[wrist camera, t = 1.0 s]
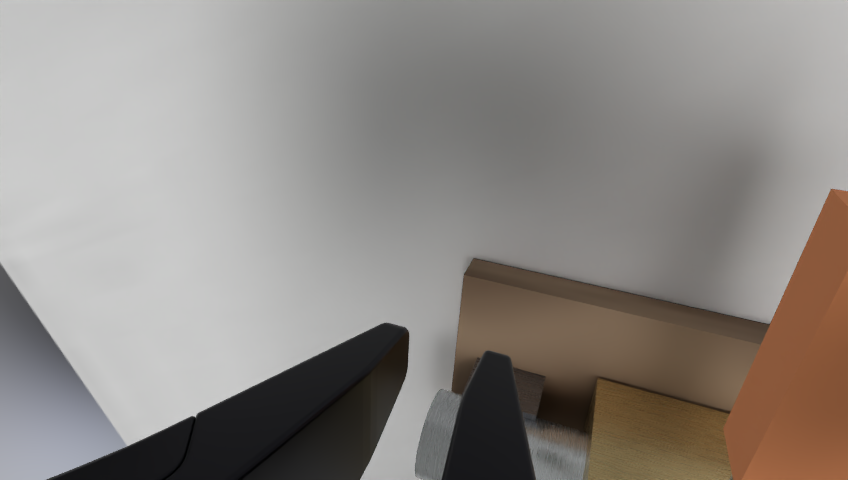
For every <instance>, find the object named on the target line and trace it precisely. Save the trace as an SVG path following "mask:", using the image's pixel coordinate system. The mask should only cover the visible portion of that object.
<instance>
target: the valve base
mask: <svg viewBox="0 0 848 480" xmlns="http://www.w3.org/2000/svg"><path fill="white" fill-rule="evenodd" d="M769 326H770V325H768V324H764V323H759V322H755V321H750V320H746V319H741V318H737V317H732V316H728V315H724V314H719V313H715V312H710V311H706V310H701V309H697V308H692V307H688V306H683V305H679V304H674V303H670V302H666V301H661V300H657V299H652V298H648V297H643V296H639V295H634V294H630V293H625V292H621V291H616V290H612V289H608V288H603V287H599V286H594V285H590V284H585V283H581V282H576V281H572V280H567V279H563V278H558V277H554V276H550V275H545V274H541V273H536V272H532V271H527V270H523V269H518V268H514V267H509V266H505V265H500V264H496V263H492V262H487V261H483V260H478V259H473V260H472V262H471V264H470V265H469V267H468V269H467V270H466V272H465V274H464V279H463V288H462V298H461V307H460V316H459V326H458V335H457V344H456V354H455V363H454V372H453V382H452V391H447V390H444V389H441V390H439V392H438V393H437V394H436V396H435V398H434V400H433V402H432V404H431V407H430V409H429V412H428V415H427V417H426V420H425V423H424V427H423V430H422V433H421V437H420V441H419V446H418V450H417V456H416V463H415V475H416V477H417V478H420V479H423V480H441V479H442V475H443V471H444V466H445V462H446V458H447V454H448V450H449V445H450V441H451V437H452V433H453V429H454V424H455V420H456V416H457V412H458V408H459V405H460V401H461V398H462V396H463V394H464V392H465V390H466V388H467V385H468V383H469V381H470V379H471V377H472V375H473V373H474V371H475V369H476V367H477V365H478V363H479V361H480V359H481V357H482V355H483V353H484V352H485V351H487V350H490V351H494V352H497V353H501V354H505V355H508V356H509V357H510V358H511V361H512V365H513V370H514V375H515V380H516V385H517V389H518V394H519V399H520V404H521V409H522V414H523V418H524V423H525V428H526V433H527V438H528V443H529V448H530V452H531V457H532V462H533V467H534V472H535V477H536V480H729V479H730V477H731V475H732V472H731V466H730V461H729V456H728V451H727V446H726V440H725V435H724V430H723V428H724V425H725V423H726V421H727V419H728V417H729V414H730V412H731V410H732V408H733V405H734V403H735V401H736V399H737V397H738V394H739V392H740V390H741V388H742V385H743V383H744V381H745V379H746V377H747V374H748V372H749V370H750V368H751V366H752V363H753V361H754V359H755V357H756V354H757V352H758V350H759V348H760V346H761V343H762V341H763V339H764V337H765V334H766V332H767V330H768V328H769Z"/></svg>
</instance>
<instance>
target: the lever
mask: <svg viewBox="0 0 848 480" xmlns="http://www.w3.org/2000/svg"><path fill="white" fill-rule="evenodd" d="M723 430H724V435H725V440H726V446H727V451H728V456H729V461H730V466H731V472H732V475H731V477H730V479H729V480H848V191H842V190H835V189H831V190H830V192H829V195H828V197H827V199H826V201H825V204H824V206H823V208H822V210H821V212H820V215H819V217H818V219H817V221H816V224H815V226H814V228H813V230H812V232H811V235H810V237H809V239H808V241H807V243H806V246H805V248H804V250H803V252H802V255H801V257H800V259H799V261H798V263H797V266H796V268H795V270H794V272H793V275H792V277H791V279H790V281H789V283H788V286H787V288H786V290H785V292H784V295H783V297H782V299H781V301H780V303H779V306H778V308H777V310H776V312H775V314H774V317H773V319H772V321H771V323H770V326H769V328H768V330H767V332H766V334H765V337H764V339H763V341H762V343H761V346H760V348H759V350H758V352H757V354H756V357H755V359H754V361H753V363H752V366H751V368H750V370H749V372H748V374H747V377H746V379H745V381H744V383H743V385H742V388H741V390H740V392H739V394H738V397H737V399H736V401H735V403H734V405H733V408H732V410H731V412H730V414H729V417H728V419H727V421H726V423H725V425H724V428H723Z"/></svg>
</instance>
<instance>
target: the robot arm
mask: <svg viewBox="0 0 848 480" xmlns="http://www.w3.org/2000/svg"><path fill="white" fill-rule="evenodd" d="M408 350H409V332H408V330H407V329H406V328H405V327H402V326H398V325H395V324H391V323H383V324H380V325H378V326H376V327H374V328H372V329H370V330H368V331H366V332H364V333H362V334H360V335H358V336H356V337H354V338H351V339H349V340H347V341H345V342H343V343H341V344H339V345H337V346H335V347H333V348H331V349H329V350H327V351H325V352H323V353H321V354H319V355H317V356H314V357H312V358H310V359H308V360H306V361H304V362H302V363H300V364H298V365H296V366H294V367H292V368H290V369H288V370H286V371H284V372H282V373H280V374H277V375H275V376H273V377H271V378H269V379H267V380H265V381H263V382H261V383H259V384H257V385H255V386H253V387H251V388H249V389H247V390H245V391H243V392H240V393H238V394H236V395H234V396H232V397H230V398H228V399H226V400H224V401H222V402H220V403H218V404H216V405H214V406H212V407H210V408H208V409H206V410H204V411H201V412H199V413H198V414H197V415H196V418H195V417H194V416H191V417H189V418H187V419H185V420H183V421H181V422H178V423H176V424H174V425H172V426H170V427H168V428H166V429H164V430H162V431H160V432H157V433H155V434H153V435H151V436H149V437H147V438H144V439H142V440H140V441H138V442H136V443H134V444H131V445H129V446H127V447H125V448H122V449H120V450H118V451H115V452H113V453H110V454H108V455H106V456H103V457H101V458H99V459H96V460H94V461H92V462H89V463H87V464H84V465H82V466H80V467H77V468H74V469H72V470H69V471H67V472H64V473H62V474H59V475H57V476H54V477H52V478H49V479H47V480H360V478H361V477H362V475H363V473H364V471H365V469H366V467H367V465H368V464H369V462H370V460H371V457H372V455H373V453H374V451H375V448H376V446H377V444H378V441H379V439H380V437H381V434H382V432H383V430H384V427H385V425H386V423H387V420H388V418H389V416H390V413H391V411H392V408H393V406H394V404H395V401H396V399H397V397H398V394H399V392H400V390H401V387H402V385H403V382H404V380H405V377H406V373H407V368H408ZM441 480H536V477H535V472H534V467H533V462H532V457H531V452H530V448H529V443H528V438H527V433H526V428H525V423H524V418H523V414H522V409H521V404H520V399H519V394H518V389H517V385H516V380H515V375H514V370H513V365H512V361H511V358H510V357H509V356H508V355H505V354H501V353H497V352H494V351H490V350H487V351H485V352H484V353H483V355H482V357H481V359H480V361H479V363H478V365H477V367H476V369H475V371H474V373H473V375H472V377H471V379H470V381H469V383H468V385H467V388H466V390H465V392H464V394H463V396H462V398H461V401H460V405H459V408H458V412H457V416H456V420H455V424H454V429H453V433H452V437H451V441H450V445H449V450H448V454H447V458H446V462H445V466H444V471H443V475H442V479H441Z"/></svg>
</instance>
